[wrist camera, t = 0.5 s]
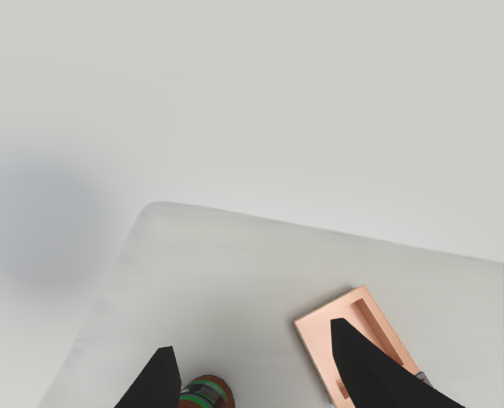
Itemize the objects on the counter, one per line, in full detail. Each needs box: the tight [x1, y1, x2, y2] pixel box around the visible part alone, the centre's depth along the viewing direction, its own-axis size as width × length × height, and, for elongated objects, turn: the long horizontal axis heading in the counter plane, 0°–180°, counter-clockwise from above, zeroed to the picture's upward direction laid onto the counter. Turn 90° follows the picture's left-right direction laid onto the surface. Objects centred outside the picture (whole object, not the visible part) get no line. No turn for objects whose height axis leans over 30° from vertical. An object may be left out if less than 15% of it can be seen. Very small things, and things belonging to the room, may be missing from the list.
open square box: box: [292, 285, 420, 408], centre depth 32 cm, size 10×10×4 cm
